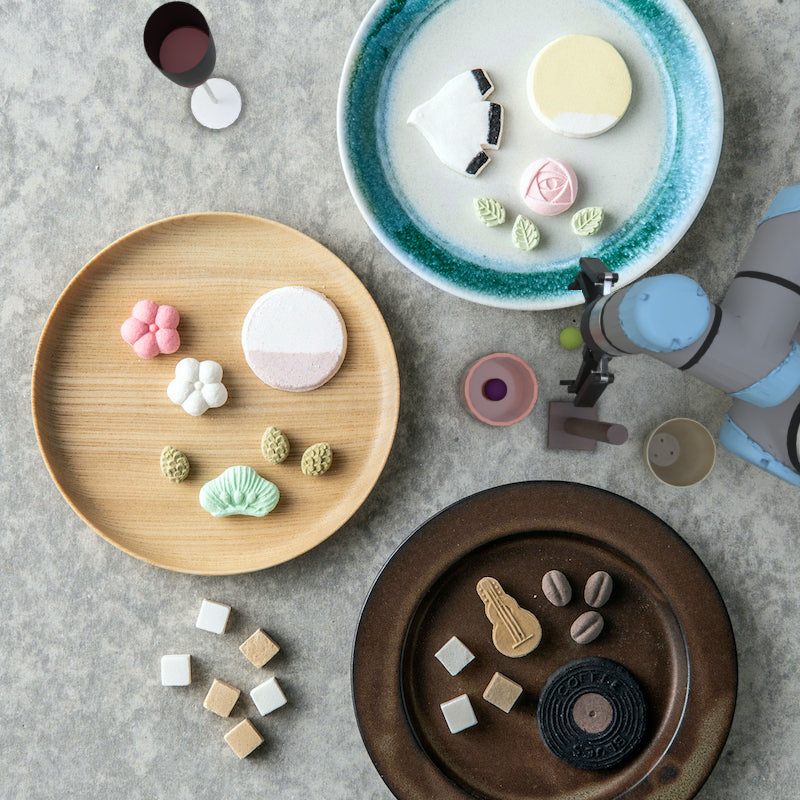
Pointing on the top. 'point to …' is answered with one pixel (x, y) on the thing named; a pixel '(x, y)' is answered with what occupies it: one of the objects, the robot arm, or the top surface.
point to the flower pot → (680, 452)
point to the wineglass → (191, 61)
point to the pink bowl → (518, 389)
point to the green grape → (570, 338)
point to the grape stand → (580, 428)
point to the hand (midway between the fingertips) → (570, 336)
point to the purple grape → (495, 389)
